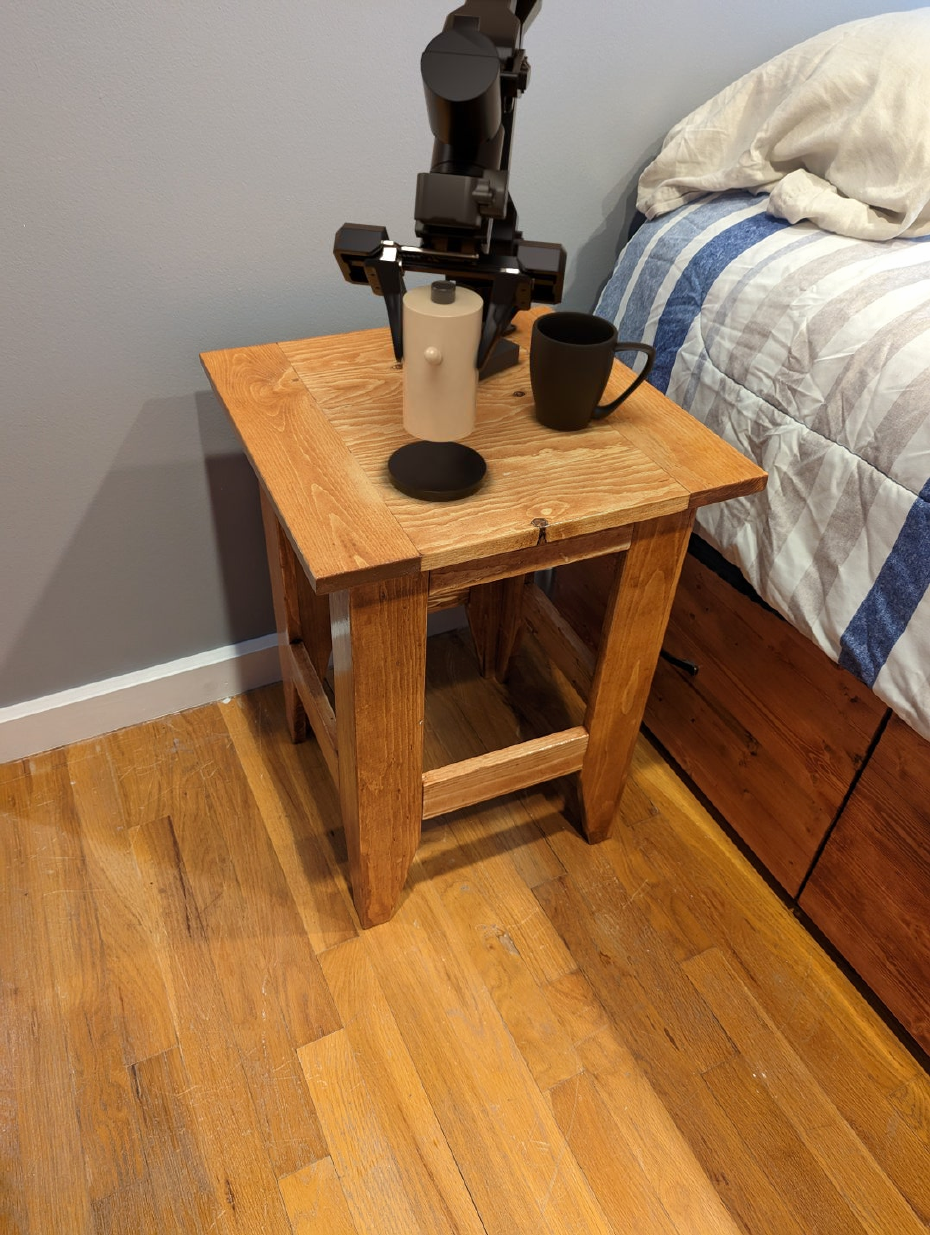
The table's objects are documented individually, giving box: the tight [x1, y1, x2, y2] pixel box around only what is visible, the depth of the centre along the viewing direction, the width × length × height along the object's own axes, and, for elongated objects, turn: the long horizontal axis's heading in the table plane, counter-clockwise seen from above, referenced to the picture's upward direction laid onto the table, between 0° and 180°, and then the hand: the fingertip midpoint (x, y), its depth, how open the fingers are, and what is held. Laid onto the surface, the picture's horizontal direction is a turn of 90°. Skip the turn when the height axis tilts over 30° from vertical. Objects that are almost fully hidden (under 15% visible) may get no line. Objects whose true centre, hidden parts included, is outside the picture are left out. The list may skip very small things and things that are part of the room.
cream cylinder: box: [402, 279, 483, 442], centre depth 71 cm, size 9×6×12 cm
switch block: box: [478, 322, 521, 382], centre depth 95 cm, size 10×8×4 cm
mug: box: [528, 310, 657, 432], centre depth 85 cm, size 8×12×10 cm
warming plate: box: [387, 440, 488, 503], centre depth 79 cm, size 9×9×1 cm
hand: (438, 365), depth 71 cm, fingers closed on cream cylinder, 6 cm apart
